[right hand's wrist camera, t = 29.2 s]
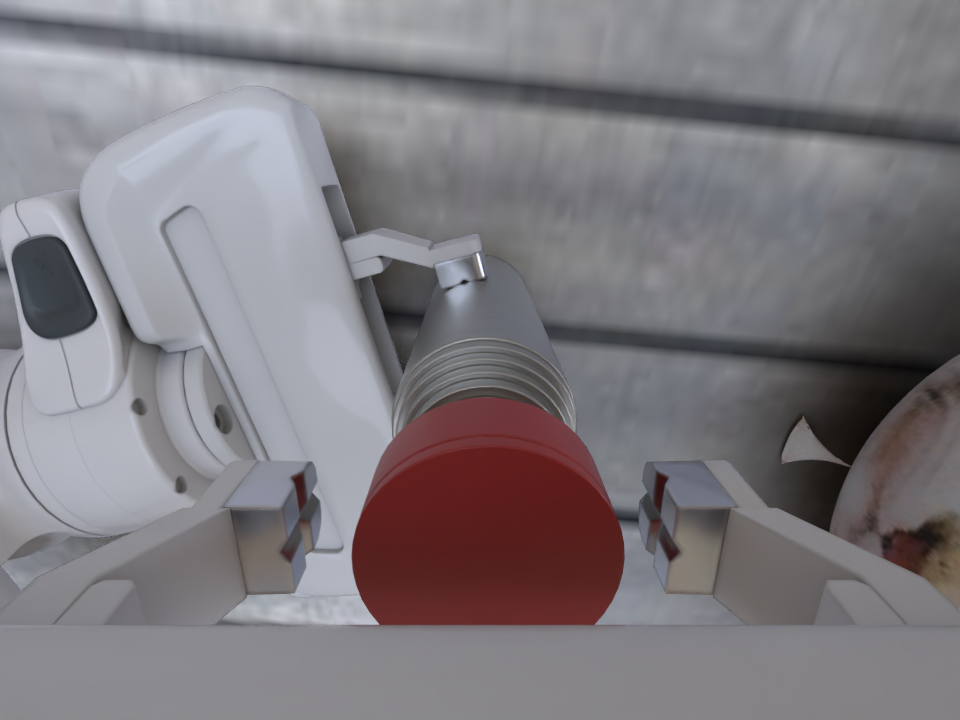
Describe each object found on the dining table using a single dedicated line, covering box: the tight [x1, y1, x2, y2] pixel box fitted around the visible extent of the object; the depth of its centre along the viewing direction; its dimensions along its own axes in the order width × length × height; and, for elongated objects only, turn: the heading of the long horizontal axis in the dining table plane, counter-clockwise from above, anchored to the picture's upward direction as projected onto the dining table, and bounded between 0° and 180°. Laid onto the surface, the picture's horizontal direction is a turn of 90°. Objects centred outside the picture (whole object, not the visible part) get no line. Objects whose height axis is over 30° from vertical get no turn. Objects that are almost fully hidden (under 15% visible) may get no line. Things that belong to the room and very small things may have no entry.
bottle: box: [391, 255, 577, 439], centre depth 17 cm, size 5×5×17 cm
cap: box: [351, 397, 624, 625], centre depth 9 cm, size 4×4×2 cm
